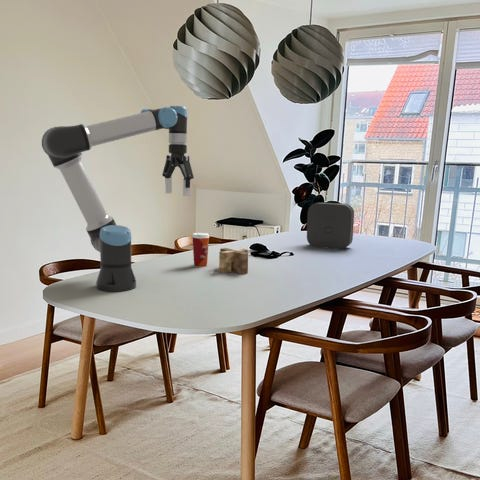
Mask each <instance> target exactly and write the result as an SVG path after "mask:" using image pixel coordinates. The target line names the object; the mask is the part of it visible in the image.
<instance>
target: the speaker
mask: <svg viewBox="0 0 480 480" xmlns="http://www.w3.org/2000/svg"><path fill="white" fill-rule="evenodd" d="M306 219H307V220H306V221H307V222H306V223H307V224H306V240H307V243H308V244H309V245H310V246H312V247H314V246H316V247H315V248H322V247H328V248H327V249H334V248H340V249H339V250H343V249H346V248H348V247H349V246H350V245H352V242H353V239H354V238H353V237H354V225H355V223H354V220H355V211H354V208H353V206H351V205H350V204H348V203H340V202H339V203H338V202H315V203H312V204H311V205H309V207H308V210H307V218H306Z"/></svg>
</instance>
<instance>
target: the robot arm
mask: <svg viewBox="0 0 480 480" xmlns="http://www.w3.org/2000/svg"><path fill="white" fill-rule="evenodd" d="M159 130H168V143H169V144H168V153H169V154H167V155H165V156H166V157H165V163H164V167H163V170H162V177H164V178H165V194H172V193H173V178H172V176H173V174H174V171H175V169H176V168H177V167H178V168H179V169H180V172H181V174H182V177H183V183H182V184H183V185H182V193H183V194H182V196H183V197H186V196H187V197H189V196H190V194H191V193H190V192H191V190H190V188H191V180H192V179H194V178H195V177H194V174H193V170H192V166H191V163H190V156H189V155H185V154H187V151H188V149H187V148H188V147H187V143H188V141H187V138H188V137H187V133H188V131H187V130H188V110H187V108H186V107H185V106H184V105H170V106H169V107H167V106H164V107H162V108H155V109H151V108H147V109H146V108H145V109H142V110H141V111H140V113H137V114H135V113H134V114H132V115H127V116H123V117H118V118H115V119H109V120H106V121H102V122H98V123H94V124H89V125H85V124H83V123H80V124H76V125H68V126H63V125H62V126H61V125H60V126H54V127H50V128H49V129H47V130H46V131H45V132H44V134H43V135H42V138H41V148H42V150H43V152H44V153H45V154H46V155H47V156H48V158H49V160H50V162H51V164H52V166H53V168H55V169H57V170H59V171H60V173H61V175H62V176H63V178H64V181H65V182H66V184H67V187H68V188H69V190H70V193H71V194H72V196H73V198H74V200H75V202H76V204H77V206H78V208H79V210H80V212H81V214H82V216H83V218H84V220H85V223H86V225H87V226H86V228H85V230H86V232H87V234H88V236H89V238H90V244H91V245H92V247H93V248H94V250H95V251H97V252H98V253H100V257H99V258H100V260H99V261H100V269H99V272H98V275H97V277H96V278H97V279H96V286H95V288H96V289H97V290H100V291H102V292H103V291H104V292H123V291H129V290H134V289H135V288H136V287H137V279H136V277H135V274H134V271H133V268H132V234H131V229H130V228H128V226H124V225H123V226H122V225H118V224H117V223H116V221H115V219H114V217H113V216H111V215H108V213H107V212H106V209H105V207H104V205H103V204H102V202H101V199H100V197H99V195H98V194H97V192H96V189H95V187H94V185H93V183H92V182H91V181H92V180H91V179H90V176H89V175H88V173H87V171H86V168H85V167H84V164H83V163H82V159H83V154H82V153H83V152H87V151H91V149H92V148H93V147H95V146H98V145H103V144H106V143H111V142H115V141H119V140H121V139H122V140H123V139H127V138H130V137H134V136H135V137H136V136H139V135H143V134H146V133H150V132H154V131H159Z"/></svg>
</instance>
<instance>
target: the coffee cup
mask: <svg viewBox="0 0 480 480" xmlns="http://www.w3.org/2000/svg"><path fill="white" fill-rule="evenodd" d="M191 238H192V254H193V266H194V267H197V268H203V267H207V266H208V254H209V242H210V240H209V239H210V235H209V233H207V232H194V233H192V236H191Z"/></svg>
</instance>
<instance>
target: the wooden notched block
mask: <svg viewBox="0 0 480 480" xmlns="http://www.w3.org/2000/svg"><path fill="white" fill-rule="evenodd" d="M219 250H220V251H219V252H223V251H230V250H233V248H227V247H221V248H219ZM231 272H234V273H237V274H240V275H241V274H242V275H245V274H248V272H249V253H245V252H241V251H239V252H235V261H234V262H231Z"/></svg>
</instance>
